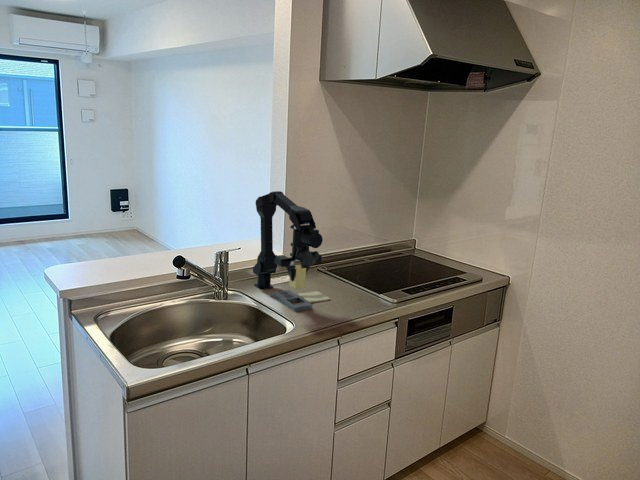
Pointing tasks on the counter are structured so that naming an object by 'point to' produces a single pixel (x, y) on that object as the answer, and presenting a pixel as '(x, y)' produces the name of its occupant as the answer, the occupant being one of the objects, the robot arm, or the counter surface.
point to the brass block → (298, 277)
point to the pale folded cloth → (313, 296)
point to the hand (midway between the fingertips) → (297, 280)
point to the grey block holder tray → (292, 300)
